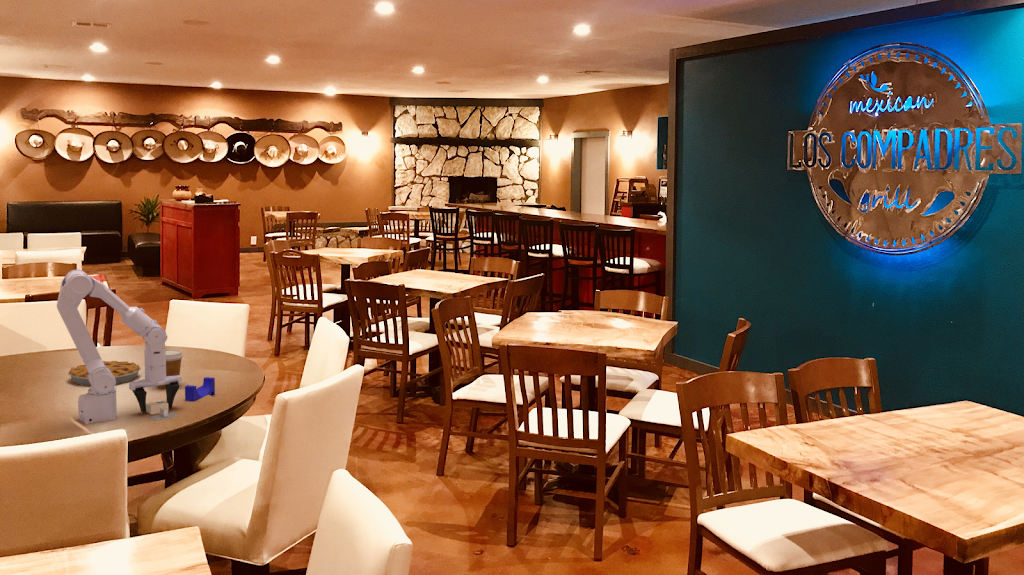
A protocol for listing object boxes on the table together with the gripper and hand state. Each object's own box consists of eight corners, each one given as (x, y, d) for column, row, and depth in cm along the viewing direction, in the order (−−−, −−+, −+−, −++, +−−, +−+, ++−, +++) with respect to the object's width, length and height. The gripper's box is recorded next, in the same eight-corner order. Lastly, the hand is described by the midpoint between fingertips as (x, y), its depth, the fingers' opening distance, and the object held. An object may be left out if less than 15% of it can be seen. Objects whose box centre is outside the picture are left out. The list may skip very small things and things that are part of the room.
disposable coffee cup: (164, 382, 274) (163, 348, 273) (189, 384, 272) (188, 350, 271) (146, 389, 265) (145, 354, 263) (172, 392, 263) (171, 356, 262)
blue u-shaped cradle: (202, 394, 262) (201, 376, 262) (214, 395, 262) (214, 377, 261) (180, 404, 251) (180, 385, 250) (194, 405, 250) (193, 387, 249)
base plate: (155, 424, 230) (155, 420, 230) (148, 420, 233) (148, 416, 233) (179, 420, 235) (179, 416, 235) (172, 416, 238) (172, 412, 238)
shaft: (163, 417, 232) (163, 410, 232) (160, 415, 234) (159, 408, 234) (167, 417, 233) (167, 409, 233) (163, 414, 235) (163, 407, 235)
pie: (105, 391, 262) (104, 376, 262) (53, 383, 269) (53, 368, 269) (154, 376, 283) (154, 362, 282) (105, 369, 290) (105, 355, 289)
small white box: (151, 418, 235) (151, 405, 235) (144, 414, 239) (144, 402, 238) (168, 415, 239) (168, 402, 238) (161, 411, 242) (161, 399, 242)
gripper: (135, 371, 229) (136, 417, 231) (185, 364, 239) (186, 408, 241) (125, 366, 234) (127, 411, 236) (175, 359, 244) (176, 403, 246)
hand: (156, 409), depth 239 cm, fingers open, 7 cm apart
